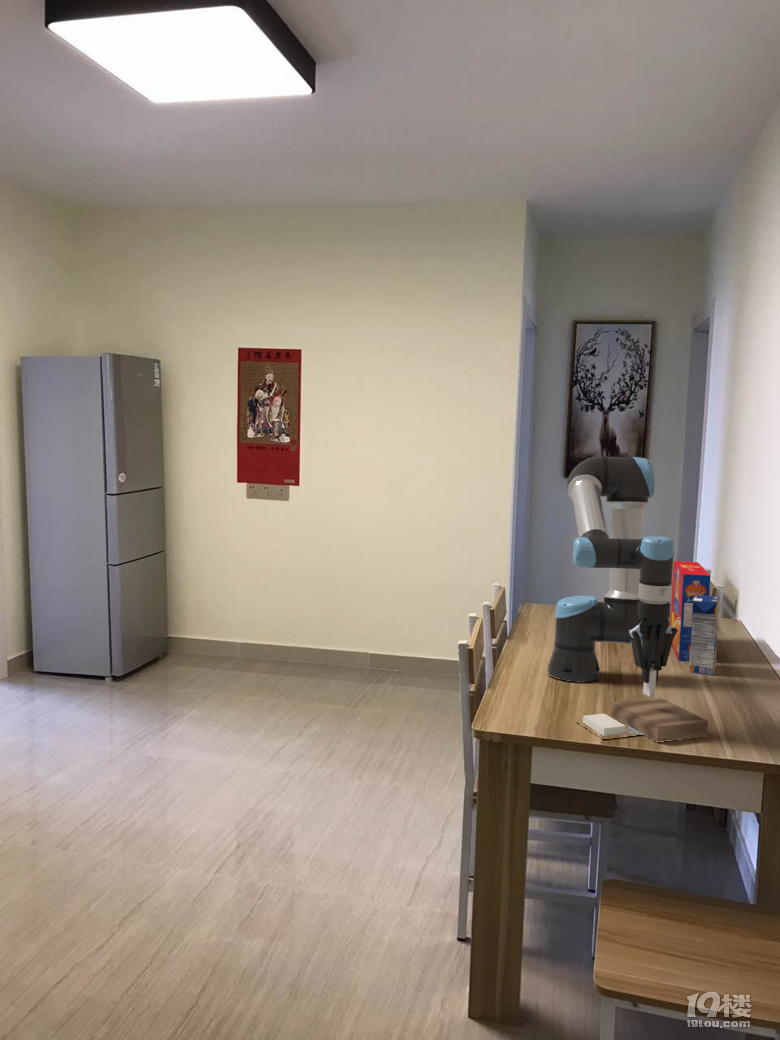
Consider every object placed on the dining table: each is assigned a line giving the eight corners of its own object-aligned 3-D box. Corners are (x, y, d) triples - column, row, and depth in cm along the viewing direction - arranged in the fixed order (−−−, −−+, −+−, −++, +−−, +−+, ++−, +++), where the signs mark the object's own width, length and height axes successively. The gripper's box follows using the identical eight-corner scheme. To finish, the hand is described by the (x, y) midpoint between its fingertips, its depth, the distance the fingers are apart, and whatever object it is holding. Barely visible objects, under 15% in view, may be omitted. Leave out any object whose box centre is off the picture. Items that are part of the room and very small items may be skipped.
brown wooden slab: (612, 717, 209) (613, 702, 208) (659, 712, 213) (660, 697, 213) (657, 743, 192) (658, 726, 191) (706, 737, 196) (707, 720, 196)
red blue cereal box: (669, 639, 290) (673, 561, 287) (693, 641, 288) (698, 562, 285) (678, 661, 263) (683, 574, 260) (705, 663, 261) (710, 575, 258)
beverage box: (688, 672, 250) (692, 600, 248) (691, 663, 260) (695, 594, 258) (713, 675, 247) (717, 603, 245) (715, 666, 257) (719, 596, 255)
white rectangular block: (604, 713, 205) (603, 721, 205) (583, 715, 203) (582, 723, 203) (625, 725, 196) (625, 733, 196) (604, 728, 194) (603, 736, 194)
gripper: (640, 605, 195) (635, 702, 198) (687, 602, 199) (681, 697, 202) (622, 598, 202) (617, 692, 205) (667, 595, 206) (661, 687, 209)
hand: (649, 694), depth 203 cm, fingers closed
